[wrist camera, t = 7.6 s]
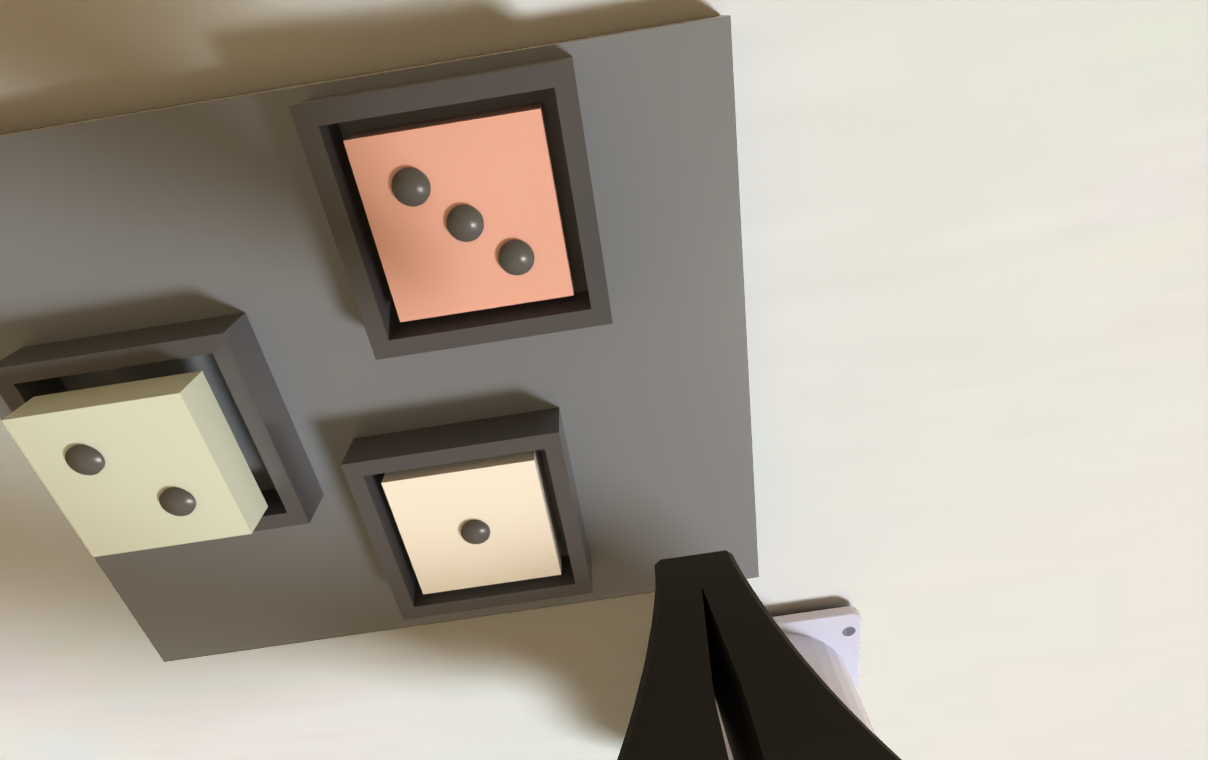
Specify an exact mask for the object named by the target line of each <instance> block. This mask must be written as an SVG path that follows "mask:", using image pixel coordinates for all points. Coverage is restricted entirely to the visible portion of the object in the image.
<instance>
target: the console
mask: <svg viewBox="0 0 1208 760" xmlns="http://www.w3.org/2000/svg"><path fill="white" fill-rule="evenodd" d="M536 103H542V105H543V111H544V117H545V122H546V128H547V134H548V139H549V145H550V151H551V156H552V162H553V168H554V173H555V179H556V184H557V190H558V196H559V201H560V207H561V213H562V218H563V224H564V230H565V235H566V241H567V247H568V252H569V258H570V264H571V269H572V275H573V288H574V295H573V296H567V297H560V298H554V299H547V300H541V301H534V302H528V303H522V304H515V305H509V306H502V307H496V308H489V309H483V310H476V311H470V312H464V313H457V314H451V315H444V316H438V317H431V318H425V319H418V320H412V321H405V322H400V320H399V316H398V313H397V310H396V307H395V304H394V301H393V297H392V294H391V291H390V288H389V285H388V282H387V278H386V275H385V272H384V269H383V266H382V262H381V259H380V256H379V253H378V250H377V247H376V243H375V240H374V237H373V234H372V231H371V228H370V224H369V221H368V218H367V215H366V212H365V209H364V205H363V202H362V199H361V196H360V193H359V190H358V186H357V183H356V180H355V177H354V174H353V170H352V167H351V164H350V161H349V158H348V155H347V151H346V148H345V145H344V142H343V141H344V140H345V139H347V138H349V137H350V136H352V135H354V134H356V133H358V132H364V131H370V130H376V129H382V128H388V127H394V126H401V125H407V124H413V123H419V122H425V121H431V120H437V119H444V118H450V117H456V116H462V115H468V114H474V113H480V112H487V111H493V110H499V109H505V108H511V107H517V106H523V105H530V104H536ZM197 371H203V373H204V376H205V378H206V380H207V382H208V384H209V386H210V388H211V390H212V392H213V394H214V396H215V398H216V400H217V402H218V404H219V406H220V408H221V411H222V413H223V415H224V417H225V419H226V421H227V423H228V425H229V427H230V429H231V431H232V433H233V435H234V437H235V439H236V441H237V444H238V446H239V448H240V450H241V452H242V454H243V456H244V458H245V460H246V462H247V464H248V466H249V468H250V470H251V472H252V474H253V477H254V479H255V481H256V483H257V485H258V487H259V489H260V491H261V493H262V495H263V497H264V499H265V501H266V503H267V505H268V508H267V509H266V511H265V513H264V514H263V516H262V518H261V519H260V521H259V522H258V524H257V526H256V527H255V529H254V531H253V532H252V534H247V535H240V536H234V537H227V538H220V539H213V540H206V541H200V542H193V543H186V544H179V545H173V546H166V547H159V548H152V549H145V550H139V551H132V552H125V553H118V554H111V555H105V556H98V557H94V558H95V559H96V561H97V562H98V564H99V565H100V567H101V568H102V570H103V571H104V573H105V574H106V576H107V577H108V579H109V580H110V582H111V583H112V585H113V586H114V588H115V589H116V590H117V592H118V593H119V595H120V596H121V598H122V599H123V601H124V602H125V604H126V605H127V607H128V608H129V610H130V611H131V613H132V614H133V616H134V617H135V619H136V620H137V622H138V623H139V625H140V626H141V628H142V629H143V631H144V632H145V634H146V635H147V637H148V638H149V640H150V641H151V643H152V644H153V646H154V647H155V649H156V650H157V652H158V653H159V655H160V656H161V658H162V659H163V661H164V662H166V661H173V660H180V659H187V658H194V657H201V656H208V655H215V654H222V653H229V652H236V651H243V650H250V649H257V648H264V647H271V646H278V645H285V644H292V643H299V642H306V641H313V640H320V639H327V638H334V637H341V636H348V635H355V634H362V633H369V632H376V631H383V630H390V629H397V628H404V627H411V626H418V625H425V624H432V623H439V622H446V621H453V620H460V619H467V618H474V617H481V616H488V615H495V614H502V613H509V612H516V611H523V610H530V609H537V608H544V607H551V606H559V605H566V604H573V603H580V602H587V601H594V600H601V599H608V598H615V597H622V596H629V595H636V594H643V593H650V592H655V568H654V565H655V564H656V563H657V562H658V561H659V560H661V559H668V558H675V557H682V556H689V555H696V554H703V553H710V552H717V551H724V550H727V551H728V552H730V553H731V554H733V556H734V558H735V560H736V562H737V564H738V566H739V568H740V569H741V571H742V573H743V575H744V576H745V578H746V579H748V578H755V577H759V574H758V554H757V535H756V515H755V495H754V475H753V455H752V435H751V416H750V396H749V376H748V356H747V336H746V316H745V297H744V277H743V257H742V237H741V217H740V197H739V178H738V158H737V138H736V118H735V98H734V78H733V58H732V39H731V19H730V16H728V15H721V16H715V17H708V18H702V19H696V20H690V21H684V22H678V23H672V24H666V25H660V26H654V27H648V28H642V29H636V30H630V31H624V32H618V33H612V34H606V35H600V36H593V37H587V38H581V39H575V40H569V41H563V42H557V43H551V44H545V45H539V46H533V47H527V48H521V49H515V50H509V51H503V52H497V53H491V54H485V55H479V56H472V57H466V58H460V59H454V60H448V61H442V62H436V63H430V64H424V65H418V66H412V67H406V68H400V69H394V70H388V71H382V72H376V73H370V74H364V75H357V76H351V77H345V78H339V79H333V80H327V81H321V82H315V83H309V84H303V85H297V86H291V87H285V88H279V89H273V90H267V91H261V92H255V93H249V94H243V95H236V96H230V97H224V98H218V99H212V100H206V101H200V102H194V103H188V104H182V105H176V106H170V107H164V108H158V109H152V110H146V111H140V112H134V113H128V114H121V115H115V116H109V117H103V118H97V119H91V120H85V121H79V122H73V123H67V124H61V125H55V126H49V127H43V128H37V129H31V130H25V131H19V132H13V133H7V134H0V418H1V419H4V418H5V417H6V416H8V415H9V414H11V413H12V412H13V411H15V410H16V409H18V408H19V407H20V406H22V405H23V404H24V403H26V402H27V401H29V400H30V399H31V398H33V397H35V396H42V395H48V394H55V393H61V392H67V391H74V390H80V389H87V388H93V387H100V386H106V385H113V384H119V383H126V382H132V381H139V380H145V379H152V378H158V377H165V376H171V375H178V374H184V373H191V372H197ZM536 450H539V454H540V458H541V462H542V467H543V471H544V475H545V480H546V484H547V488H548V493H549V497H550V501H551V505H552V510H553V514H554V518H555V523H556V527H557V531H558V536H559V540H560V544H561V549H562V562H561V575H555V576H548V577H541V578H534V579H527V580H520V581H513V582H506V583H499V584H492V585H485V586H478V587H471V588H465V589H458V590H451V591H444V592H437V593H430V594H423V593H422V590H421V587H420V585H419V582H418V579H417V577H416V574H415V571H414V569H413V566H412V563H411V561H410V558H409V555H408V553H407V550H406V547H405V545H404V542H403V539H402V537H401V534H400V531H399V529H398V526H397V523H396V521H395V518H394V516H393V513H392V510H391V508H390V505H389V502H388V500H387V497H386V494H385V492H384V489H383V486H382V484H381V482H382V480H383V477H384V475H385V473H388V472H395V471H401V470H408V469H415V468H422V467H428V466H435V465H442V464H448V463H455V462H462V461H469V460H475V459H482V458H489V457H495V456H502V455H509V454H516V453H522V452H529V451H536Z"/></svg>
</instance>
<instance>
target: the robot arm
mask: <svg viewBox="0 0 1208 760" xmlns="http://www.w3.org/2000/svg"><path fill="white" fill-rule="evenodd" d="M654 568H655V601H654V610H653V619H652V626H651V632H650V637H649V643H648V649H647V654H646V659H645V664H644V669H643V673H642V677H641V681H640V685H639V689H638V693H637V697H636V701H635V705H634V708H633V712H632V715H631V719H630V722H629V725H628V729H627V732H626V735H625V738H624V741H623V744H622V747H621V750H620V753H619V756H618V759H617V760H901V759H900V758H899V757H898V756H897V755H896V754H895V753H894V752H893V751H892V750H891V749H889V748H888V747H887V746H886V745H885V744H884V743H883V742H882V741H881V740H880V739H879V738H878V737H877V736H876V734H875V732H874V729H873V727H872V725H871V722H870V720H869V718H868V715H867V713H866V711H865V708H864V706H863V704H862V701H861V699H860V697H859V694H858V683H859V663H860V643H861V623H862V619H861V616H860V614H859V612H858V610H857V609H856V608H854V607H851V606H845V607H838V608H831V609H824V610H817V611H810V612H803V613H796V614H789V615H782V616H775V617H772V616H771V615H770V614H769V612H768V611H767V609H766V608H765V607H764V605H763V604H762V602H761V601H760V599H759V598H758V596H757V595H756V593H755V592H754V590H753V589H752V587H751V586H750V584H749V583H748V581H747V579H746V578H745V576H744V575H743V573H742V571H741V569H740V568H739V566H738V564H737V562H736V560H735V558H734V556H733V554H731V553H730V552H728V551H727V550H724V551H717V552H710V553H703V554H696V555H689V556H682V557H675V558H668V559H661V560H659V561H658V562H657V563H656V564H655V565H654Z"/></svg>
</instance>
